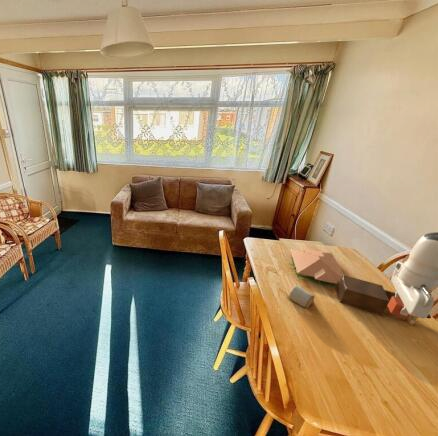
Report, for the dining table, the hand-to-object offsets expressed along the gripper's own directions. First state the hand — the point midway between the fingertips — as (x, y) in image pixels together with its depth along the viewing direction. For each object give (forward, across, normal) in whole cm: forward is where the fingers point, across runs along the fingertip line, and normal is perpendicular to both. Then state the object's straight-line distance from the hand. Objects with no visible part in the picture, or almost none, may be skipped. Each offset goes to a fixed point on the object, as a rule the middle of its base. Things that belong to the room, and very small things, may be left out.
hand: (399, 308), depth 82 cm
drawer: (+18, +22, -10) cm, 30 cm away
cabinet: (+19, +23, +3) cm, 30 cm away
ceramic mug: (+19, +10, +26) cm, 34 cm away
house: (+19, +44, +19) cm, 51 cm away
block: (+2, 0, 0) cm, 2 cm away
